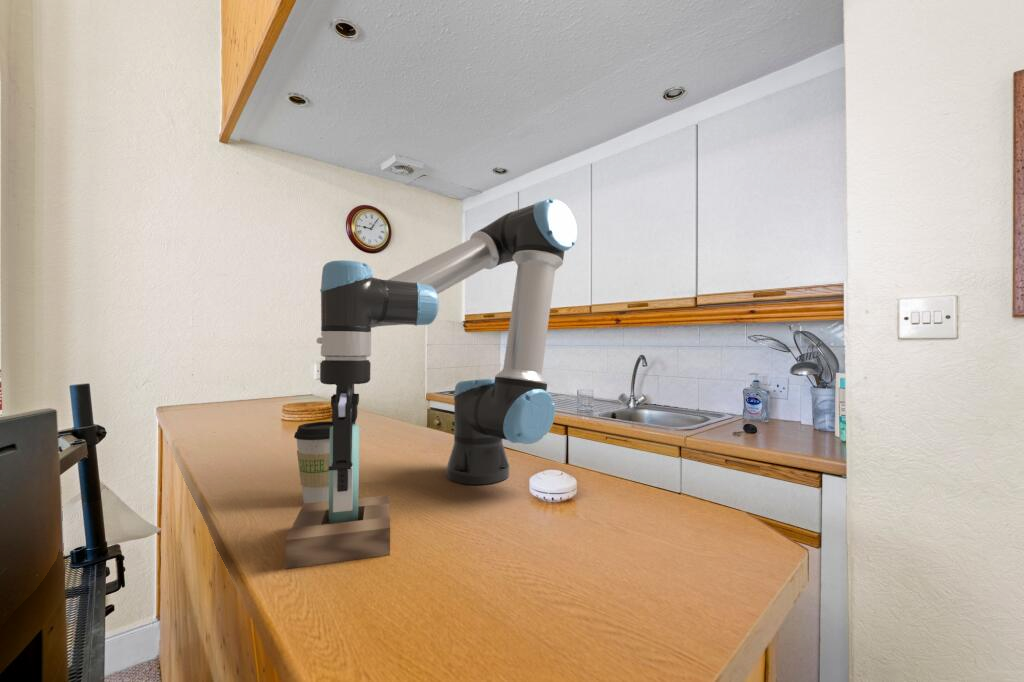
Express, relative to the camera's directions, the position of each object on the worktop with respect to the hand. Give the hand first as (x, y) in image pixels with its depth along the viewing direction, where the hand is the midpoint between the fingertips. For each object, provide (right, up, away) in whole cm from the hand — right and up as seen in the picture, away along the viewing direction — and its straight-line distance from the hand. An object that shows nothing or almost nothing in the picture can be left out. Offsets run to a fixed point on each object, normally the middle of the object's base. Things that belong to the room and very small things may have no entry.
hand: (344, 504), depth 67 cm
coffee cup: (-12, -6, +17) cm, 22 cm away
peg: (0, -4, 0) cm, 4 cm away
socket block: (0, -6, 0) cm, 6 cm away
